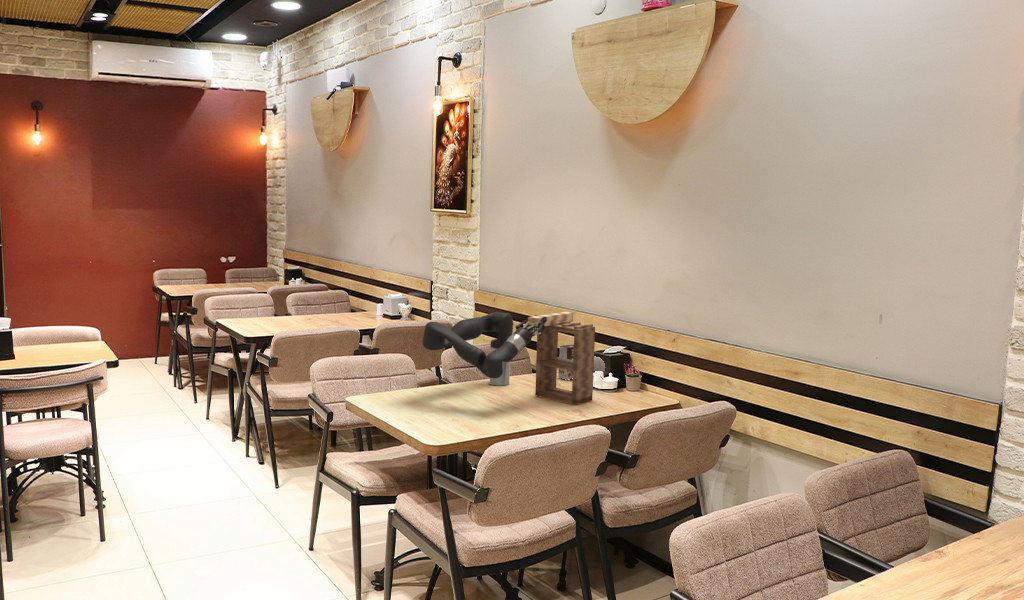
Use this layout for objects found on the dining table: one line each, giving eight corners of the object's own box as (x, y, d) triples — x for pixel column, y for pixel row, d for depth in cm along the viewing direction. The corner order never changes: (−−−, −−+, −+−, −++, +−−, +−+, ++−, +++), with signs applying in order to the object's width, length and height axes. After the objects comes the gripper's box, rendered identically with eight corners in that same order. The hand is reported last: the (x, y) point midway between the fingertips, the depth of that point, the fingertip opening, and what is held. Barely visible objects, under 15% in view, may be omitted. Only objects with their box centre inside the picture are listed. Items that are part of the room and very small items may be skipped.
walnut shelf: (575, 405, 332) (578, 327, 328) (535, 395, 346) (537, 321, 342) (592, 400, 341) (595, 324, 337) (552, 391, 355) (554, 318, 351)
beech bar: (535, 327, 330) (535, 318, 330) (527, 326, 333) (528, 317, 333) (572, 321, 350) (573, 312, 349) (565, 320, 352) (566, 311, 352)
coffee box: (567, 381, 376) (568, 347, 374) (557, 378, 381) (559, 345, 379) (580, 378, 382) (582, 345, 380) (571, 376, 387) (572, 343, 385)
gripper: (528, 336, 320) (551, 312, 330) (502, 332, 329) (526, 308, 339) (533, 351, 323) (557, 326, 333) (507, 346, 333) (531, 322, 343)
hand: (541, 317), depth 336 cm, fingers closed on beech bar, 4 cm apart
